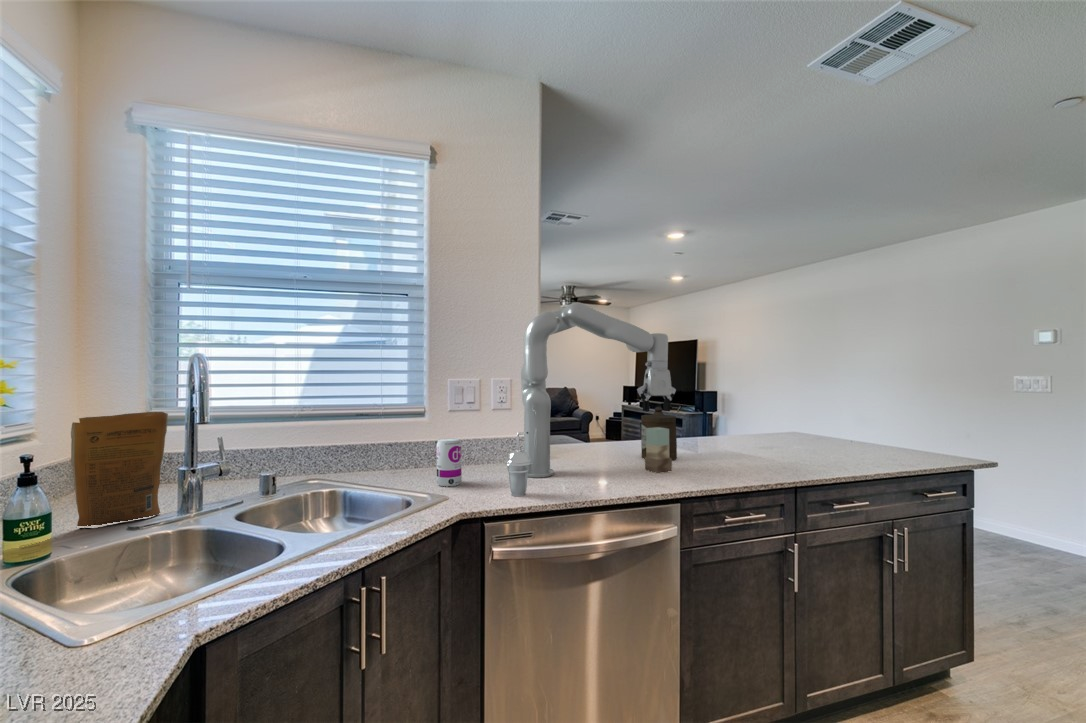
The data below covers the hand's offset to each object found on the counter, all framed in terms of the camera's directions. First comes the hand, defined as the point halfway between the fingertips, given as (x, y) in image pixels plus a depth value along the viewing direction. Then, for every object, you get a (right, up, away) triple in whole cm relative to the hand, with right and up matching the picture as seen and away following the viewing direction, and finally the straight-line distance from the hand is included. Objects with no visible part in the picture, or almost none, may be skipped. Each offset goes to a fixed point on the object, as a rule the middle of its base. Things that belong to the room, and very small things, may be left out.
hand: (656, 411), depth 185 cm
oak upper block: (+1, -18, 0) cm, 18 cm away
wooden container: (+7, -23, +25) cm, 34 cm away
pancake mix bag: (-151, -23, -60) cm, 164 cm away
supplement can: (-75, -23, -20) cm, 81 cm away
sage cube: (0, -13, 0) cm, 13 cm away
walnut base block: (+1, -23, 0) cm, 23 cm away
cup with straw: (-51, -23, -35) cm, 65 cm away
